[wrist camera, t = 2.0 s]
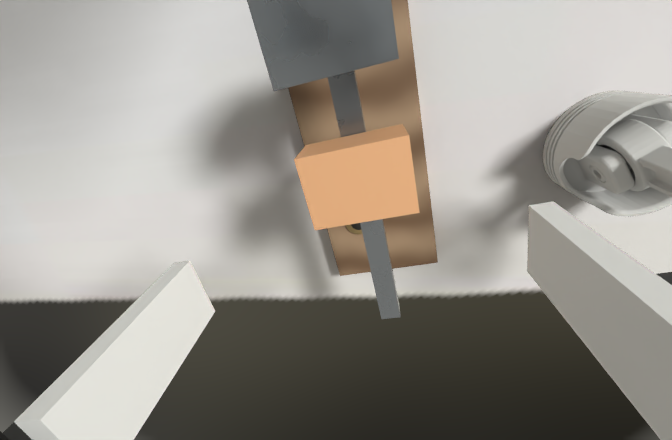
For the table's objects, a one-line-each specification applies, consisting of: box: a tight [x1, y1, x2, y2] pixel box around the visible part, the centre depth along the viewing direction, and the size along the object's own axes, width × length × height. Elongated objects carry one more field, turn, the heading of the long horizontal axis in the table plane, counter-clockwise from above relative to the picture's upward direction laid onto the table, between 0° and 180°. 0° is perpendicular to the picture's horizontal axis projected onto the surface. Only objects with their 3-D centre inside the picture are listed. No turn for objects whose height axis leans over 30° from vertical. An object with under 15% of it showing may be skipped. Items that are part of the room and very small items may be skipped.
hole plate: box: [288, 0, 438, 276], centre depth 33 cm, size 30×12×2 cm, turn 13°
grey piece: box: [247, 0, 401, 319], centre depth 26 cm, size 26×7×14 cm, turn 13°
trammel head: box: [294, 124, 420, 230], centre depth 25 cm, size 5×7×13 cm
